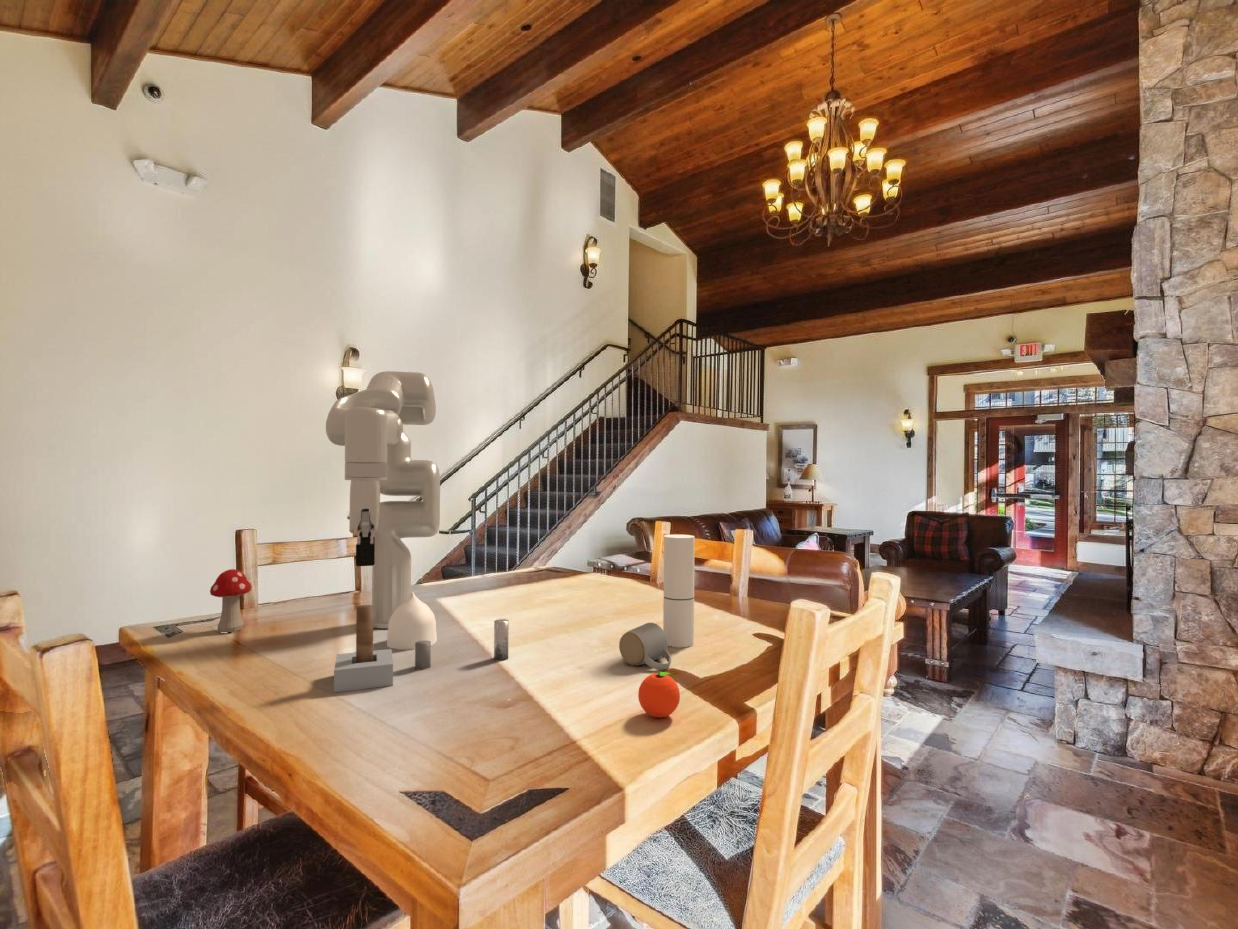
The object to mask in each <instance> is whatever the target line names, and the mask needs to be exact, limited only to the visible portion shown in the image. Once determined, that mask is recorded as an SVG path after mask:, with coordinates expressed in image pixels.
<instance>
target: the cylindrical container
mask: <svg viewBox="0 0 1238 929" xmlns="http://www.w3.org/2000/svg"><path fill="white" fill-rule="evenodd" d="M695 539H696V538H695V535H691V534H664V535H663V604H662V605H663V606H662V607H663V610H662V611H663V617H662V618H663V620H662V622H663V624H662V626H663V628H662V630H663V631H664V633H665V635H666V637H667V642H668V647H671V646H672V647H671V648H688V646H689V647H692V646H694V644H695V548H696V546H695V545H696V544H695V543H696V542H695V541H696V540H695Z"/></svg>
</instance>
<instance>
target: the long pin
mask: <svg viewBox="0 0 1238 929" xmlns="http://www.w3.org/2000/svg"><path fill="white" fill-rule="evenodd" d="M355 616H356V617H355V618H356V623H355V624H356V627H355V630H356V634H355V636H356V640H355V641H356V642H355V652H356V663H364V662H373V651H374V628H373V605H372V604H363V605H358V606H356V615H355Z"/></svg>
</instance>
